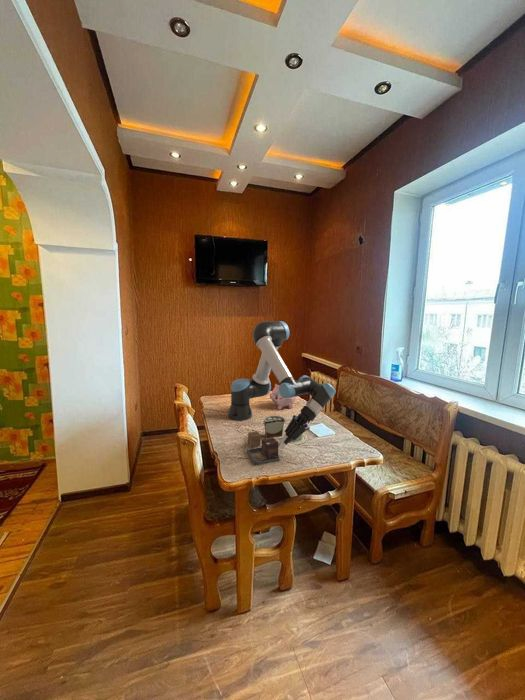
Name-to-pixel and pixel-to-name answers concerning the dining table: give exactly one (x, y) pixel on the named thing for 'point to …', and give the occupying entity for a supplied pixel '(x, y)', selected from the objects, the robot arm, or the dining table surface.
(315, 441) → the dining table surface
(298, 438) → the sage green block
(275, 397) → the piggy bank
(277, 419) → the food container
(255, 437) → the walnut block
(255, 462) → the corral
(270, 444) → the box
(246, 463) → the dining table surface
